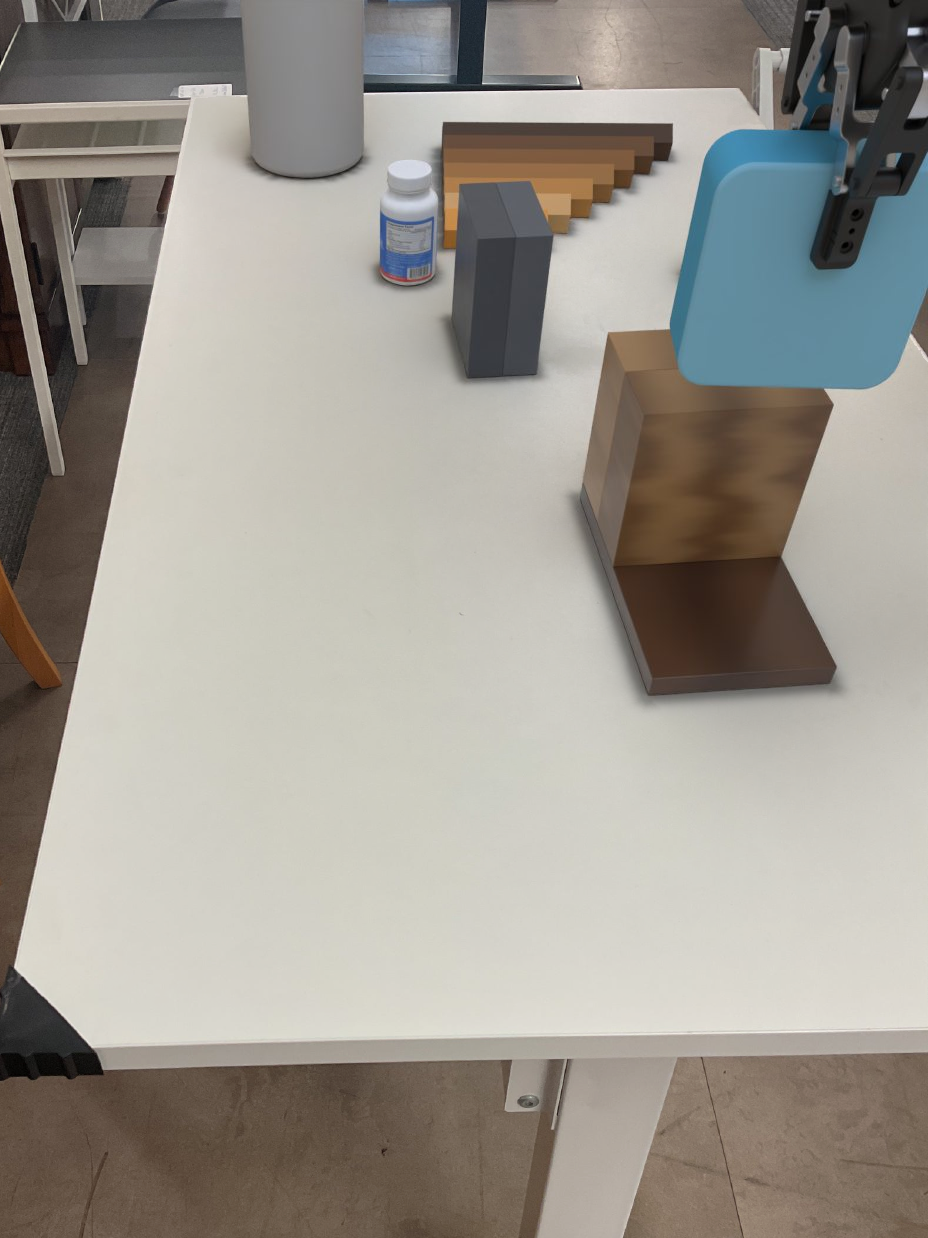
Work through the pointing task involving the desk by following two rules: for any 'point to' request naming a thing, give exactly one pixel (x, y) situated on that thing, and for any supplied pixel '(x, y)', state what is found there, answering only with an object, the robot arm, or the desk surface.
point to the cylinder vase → (304, 84)
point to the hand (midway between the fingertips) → (812, 239)
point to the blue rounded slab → (793, 271)
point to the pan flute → (548, 162)
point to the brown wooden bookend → (702, 520)
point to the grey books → (500, 278)
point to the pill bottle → (408, 224)
